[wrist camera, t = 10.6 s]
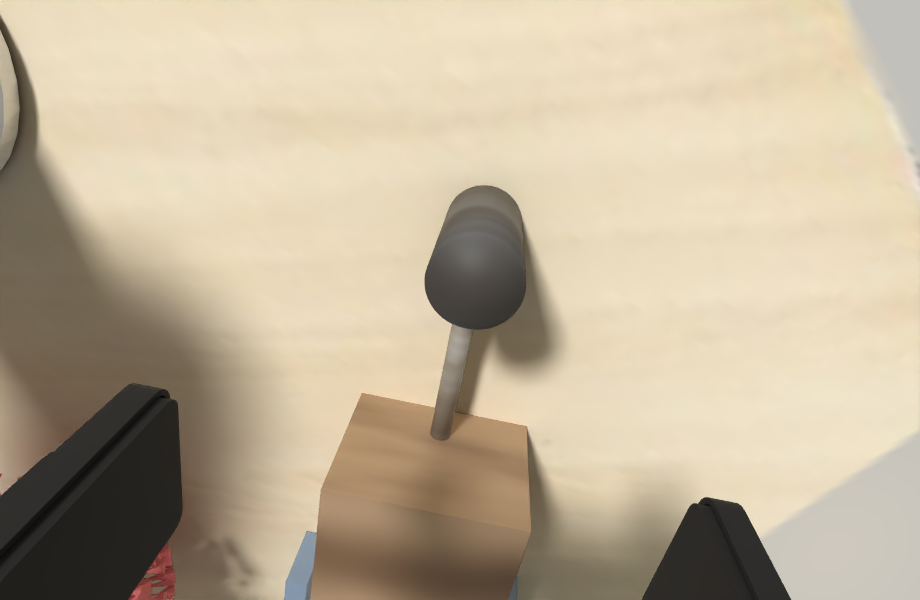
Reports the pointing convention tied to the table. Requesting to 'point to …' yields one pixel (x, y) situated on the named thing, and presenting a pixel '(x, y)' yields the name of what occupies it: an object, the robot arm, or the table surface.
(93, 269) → the table surface
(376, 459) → the tether block
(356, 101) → the table surface
